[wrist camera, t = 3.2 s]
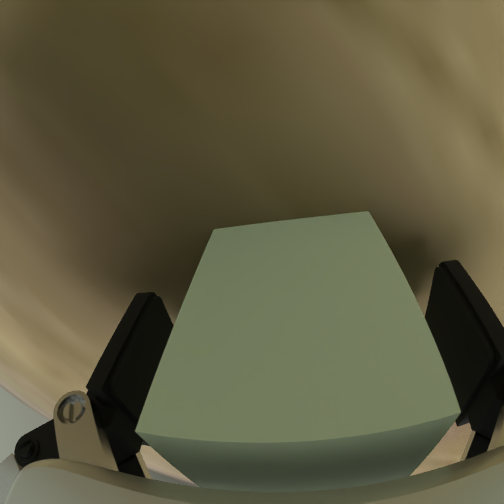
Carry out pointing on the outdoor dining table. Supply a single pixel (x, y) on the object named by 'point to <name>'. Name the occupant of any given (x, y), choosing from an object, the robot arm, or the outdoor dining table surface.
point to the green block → (298, 363)
